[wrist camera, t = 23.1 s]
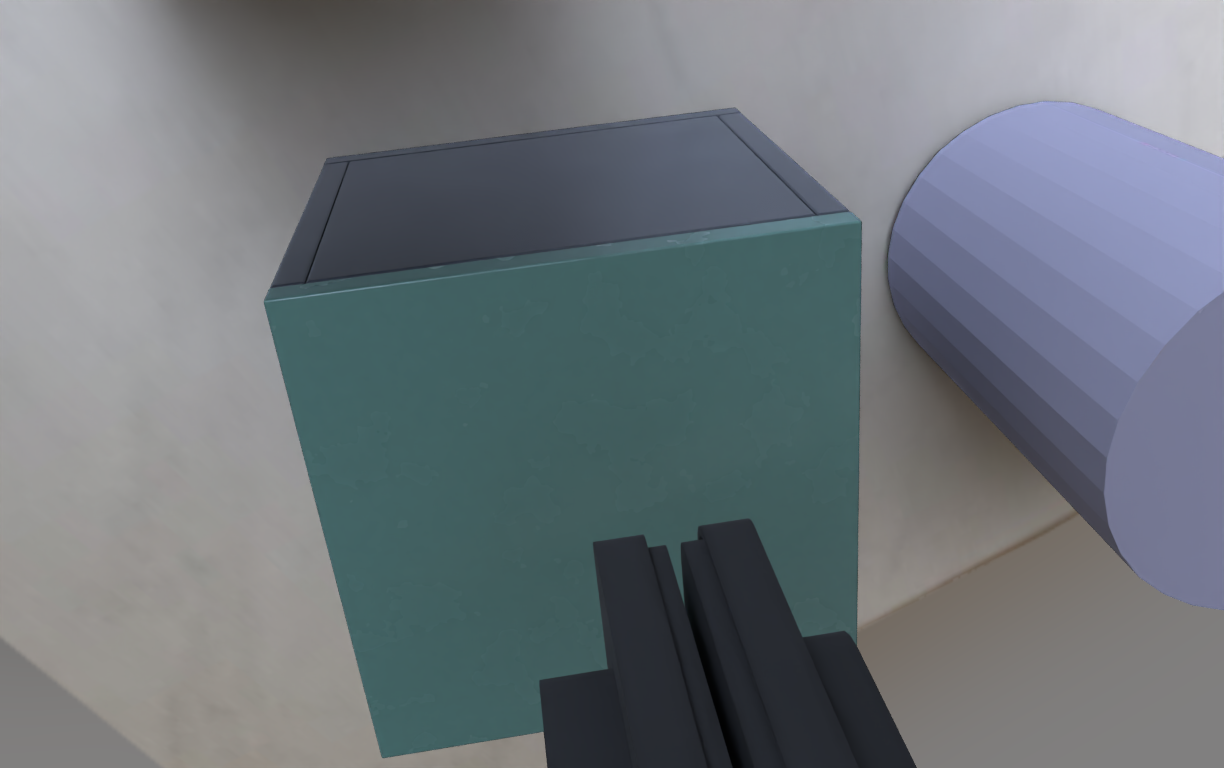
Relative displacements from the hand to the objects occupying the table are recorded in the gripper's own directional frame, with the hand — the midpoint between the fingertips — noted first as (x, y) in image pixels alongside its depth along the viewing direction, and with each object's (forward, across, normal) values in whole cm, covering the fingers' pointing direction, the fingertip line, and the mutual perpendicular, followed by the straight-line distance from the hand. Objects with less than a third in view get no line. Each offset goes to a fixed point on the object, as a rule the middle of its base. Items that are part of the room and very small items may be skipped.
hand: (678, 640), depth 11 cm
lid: (+15, 0, +8) cm, 17 cm away
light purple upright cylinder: (+26, -17, +8) cm, 33 cm away
